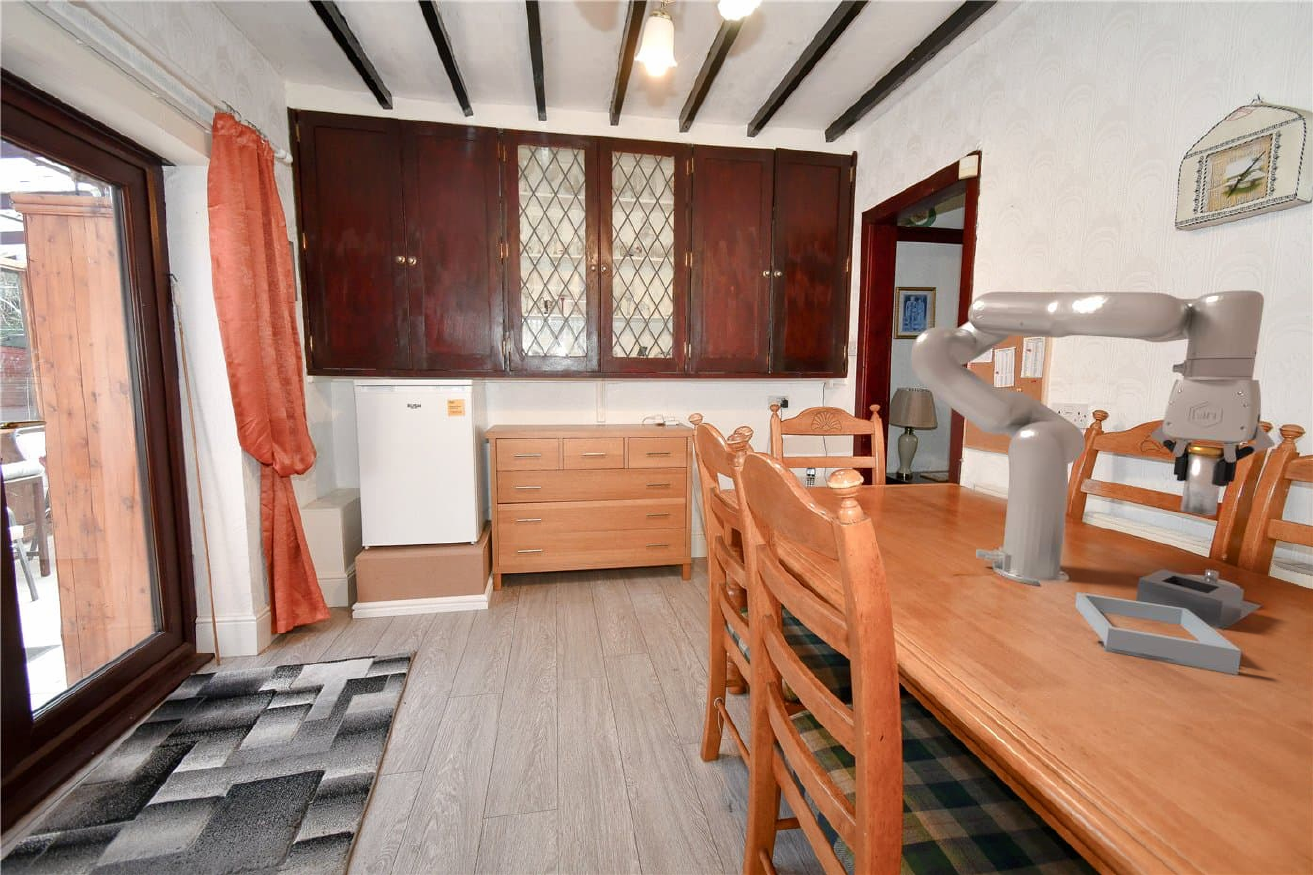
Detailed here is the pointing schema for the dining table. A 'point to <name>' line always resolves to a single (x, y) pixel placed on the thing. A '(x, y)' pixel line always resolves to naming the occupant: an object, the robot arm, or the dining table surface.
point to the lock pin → (1202, 479)
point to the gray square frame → (1200, 654)
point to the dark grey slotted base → (1197, 596)
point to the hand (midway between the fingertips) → (1202, 481)
